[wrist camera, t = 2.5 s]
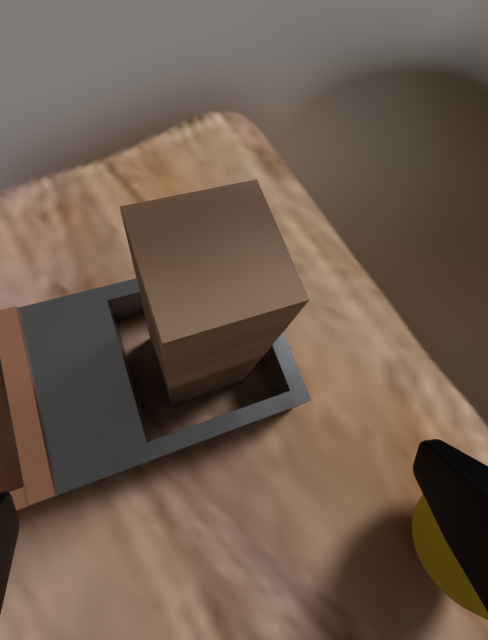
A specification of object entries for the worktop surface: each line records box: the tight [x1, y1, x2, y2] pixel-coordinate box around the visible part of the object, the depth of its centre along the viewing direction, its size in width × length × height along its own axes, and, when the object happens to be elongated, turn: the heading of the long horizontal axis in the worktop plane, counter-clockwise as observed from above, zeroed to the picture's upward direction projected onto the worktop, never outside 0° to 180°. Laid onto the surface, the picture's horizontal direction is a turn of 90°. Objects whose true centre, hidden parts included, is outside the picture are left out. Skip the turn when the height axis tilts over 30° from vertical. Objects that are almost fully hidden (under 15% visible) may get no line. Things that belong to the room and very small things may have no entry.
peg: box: [120, 180, 309, 407], centre depth 16 cm, size 4×4×12 cm
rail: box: [0, 278, 311, 511], centre depth 18 cm, size 8×21×3 cm, turn 110°
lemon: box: [412, 495, 488, 620], centre depth 17 cm, size 6×6×8 cm
